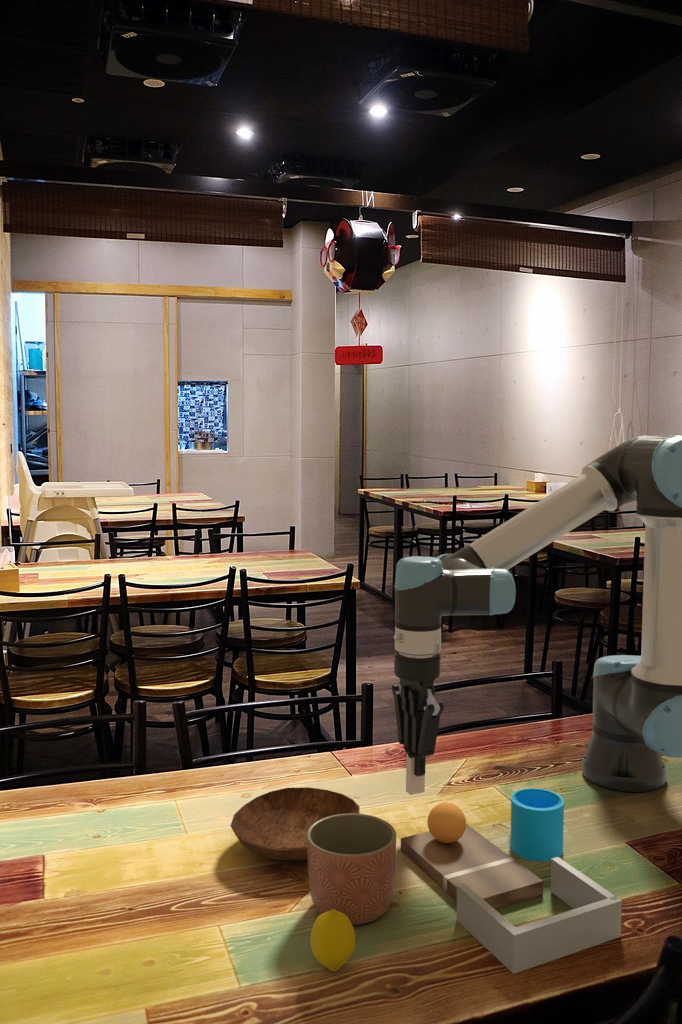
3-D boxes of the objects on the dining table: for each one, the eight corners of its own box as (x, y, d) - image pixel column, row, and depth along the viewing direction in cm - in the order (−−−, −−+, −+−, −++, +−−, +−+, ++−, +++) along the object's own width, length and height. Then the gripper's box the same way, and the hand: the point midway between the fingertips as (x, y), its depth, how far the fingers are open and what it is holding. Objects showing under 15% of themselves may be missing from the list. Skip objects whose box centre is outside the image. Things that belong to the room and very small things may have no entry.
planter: (408, 895, 121) (408, 822, 120) (376, 943, 110) (376, 863, 109) (330, 877, 127) (329, 806, 125) (291, 921, 115) (290, 844, 114)
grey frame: (557, 889, 123) (558, 856, 122) (620, 936, 111) (621, 900, 111) (456, 920, 115) (456, 885, 115) (513, 973, 104) (514, 935, 103)
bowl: (379, 827, 142) (379, 798, 142) (321, 893, 122) (321, 859, 122) (276, 806, 150) (276, 778, 150) (206, 864, 131) (205, 833, 130)
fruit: (340, 950, 109) (339, 890, 108) (364, 973, 104) (363, 911, 103) (302, 965, 106) (301, 904, 105) (325, 989, 101) (325, 926, 100)
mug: (573, 857, 132) (574, 806, 131) (525, 864, 130) (525, 813, 129) (535, 822, 143) (536, 776, 142) (491, 829, 141) (491, 781, 140)
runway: (464, 834, 139) (464, 822, 139) (542, 894, 121) (543, 880, 121) (400, 850, 134) (400, 838, 134) (472, 915, 116) (472, 901, 116)
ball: (452, 828, 137) (452, 793, 136) (473, 845, 132) (473, 808, 131) (420, 836, 134) (420, 800, 134) (440, 853, 129) (440, 816, 128)
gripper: (378, 645, 142) (376, 780, 145) (418, 664, 131) (415, 812, 133) (416, 640, 146) (414, 773, 148) (459, 659, 134) (456, 803, 136)
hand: (415, 791), depth 141 cm, fingers closed
